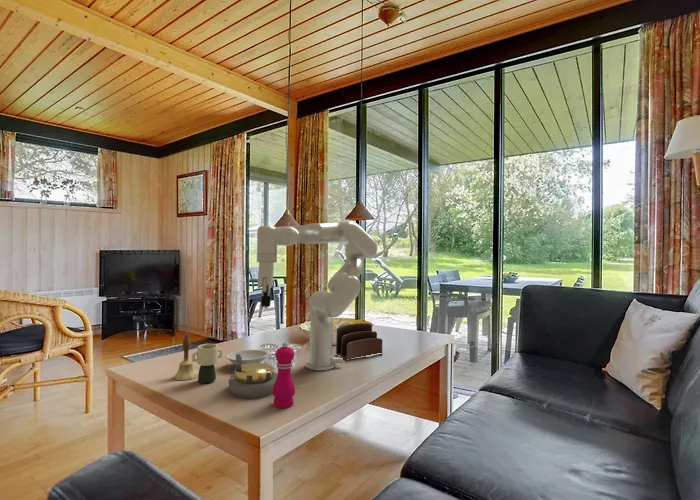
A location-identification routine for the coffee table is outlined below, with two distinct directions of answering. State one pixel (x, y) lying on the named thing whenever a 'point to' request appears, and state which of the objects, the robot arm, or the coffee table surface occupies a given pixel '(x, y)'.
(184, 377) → the hand bell
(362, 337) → the letter holder
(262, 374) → the ring nut
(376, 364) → the coffee table surface
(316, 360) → the robot arm
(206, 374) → the character mug
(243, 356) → the dish
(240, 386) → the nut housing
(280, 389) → the pepper mill
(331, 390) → the coffee table surface
